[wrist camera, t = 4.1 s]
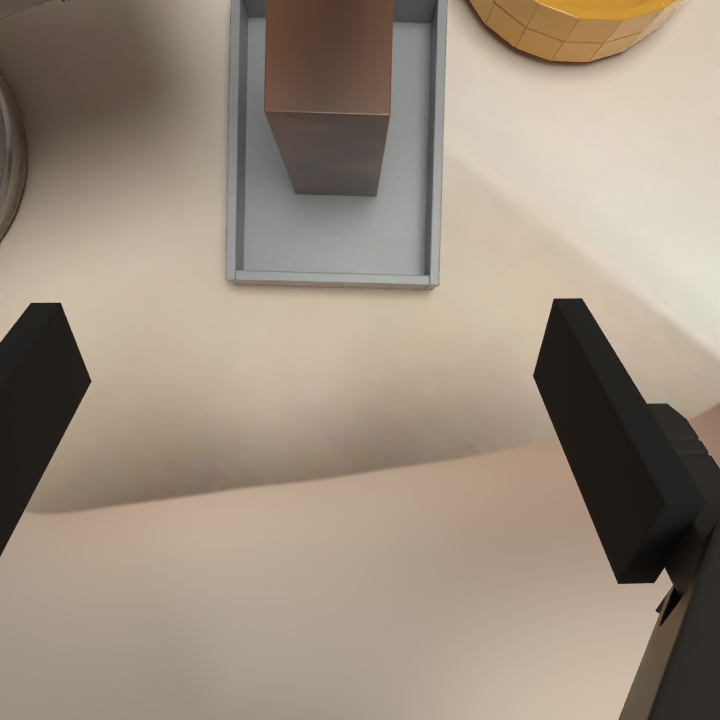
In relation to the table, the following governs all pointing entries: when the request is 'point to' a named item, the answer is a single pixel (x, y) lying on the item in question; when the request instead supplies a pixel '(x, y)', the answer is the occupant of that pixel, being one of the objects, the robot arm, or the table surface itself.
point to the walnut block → (329, 91)
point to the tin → (332, 212)
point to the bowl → (573, 25)
